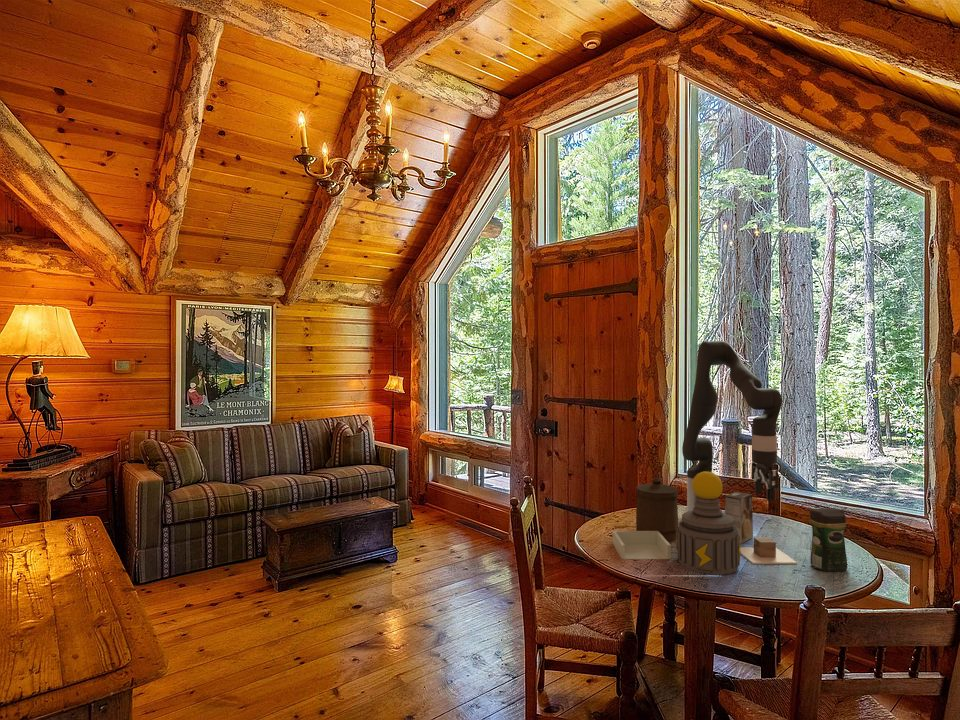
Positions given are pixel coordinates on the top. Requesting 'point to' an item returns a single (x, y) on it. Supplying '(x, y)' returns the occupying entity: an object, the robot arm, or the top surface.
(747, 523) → the coffee box
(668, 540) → the wooden container
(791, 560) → the mat
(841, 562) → the coffee jar
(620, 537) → the open box
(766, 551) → the walnut block
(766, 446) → the robot arm
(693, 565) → the decorative lamp
